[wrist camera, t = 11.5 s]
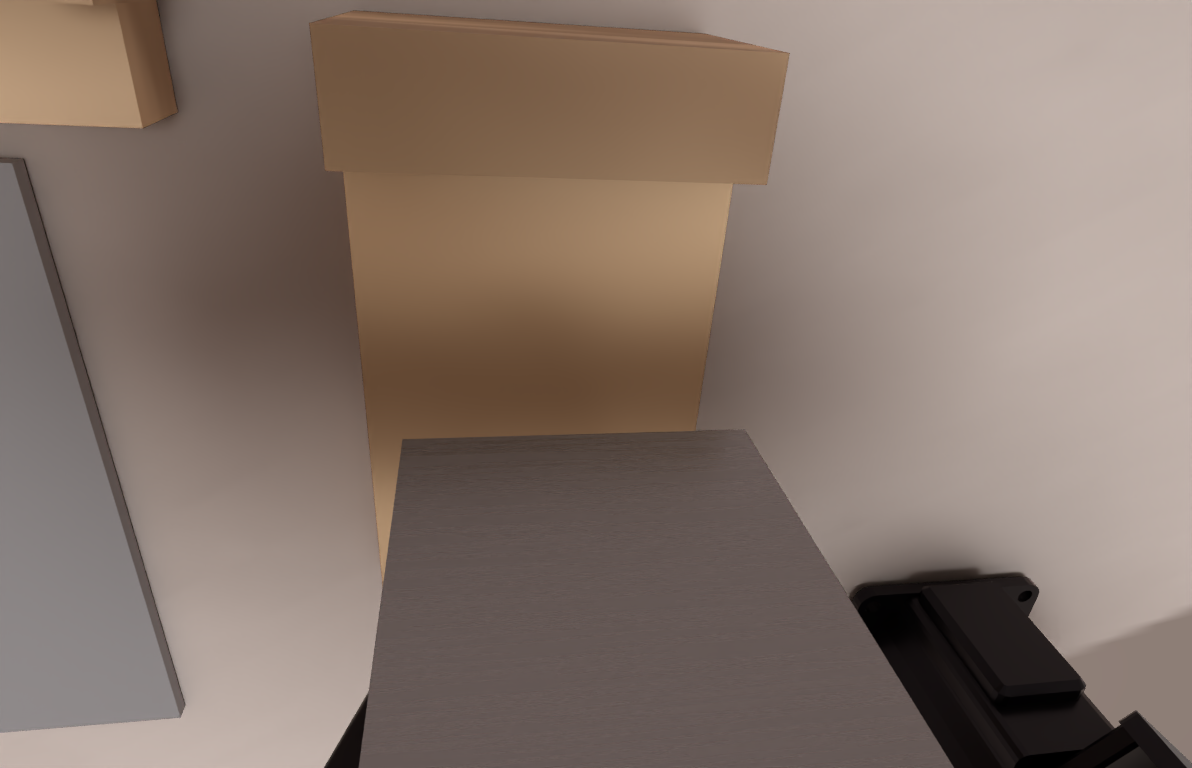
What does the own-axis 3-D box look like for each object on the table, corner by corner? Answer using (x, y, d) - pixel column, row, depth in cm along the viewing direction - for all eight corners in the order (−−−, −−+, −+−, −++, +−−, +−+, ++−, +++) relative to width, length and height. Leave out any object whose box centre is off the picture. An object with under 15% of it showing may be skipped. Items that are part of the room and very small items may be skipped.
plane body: (641, 553, 22) (679, 681, 18) (398, 566, 21) (382, 707, 17) (705, 33, 15) (789, 52, 11) (353, 10, 14) (309, 22, 10)
